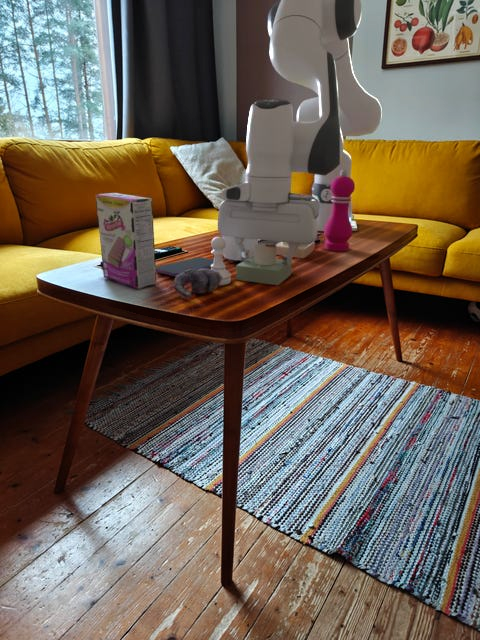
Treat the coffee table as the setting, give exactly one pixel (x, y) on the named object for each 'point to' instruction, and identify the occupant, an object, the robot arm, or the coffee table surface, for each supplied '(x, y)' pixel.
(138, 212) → the candy bar box
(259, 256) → the knob
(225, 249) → the cup
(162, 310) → the coffee table surface
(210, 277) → the grey elephant figurine
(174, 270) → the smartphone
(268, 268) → the dial panel
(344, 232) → the pepper mill
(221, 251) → the chess pawn
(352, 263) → the coffee table surface
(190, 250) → the coffee table surface
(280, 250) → the button box
